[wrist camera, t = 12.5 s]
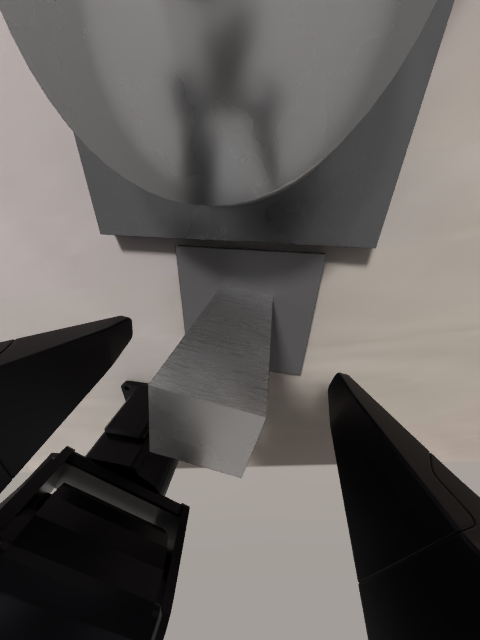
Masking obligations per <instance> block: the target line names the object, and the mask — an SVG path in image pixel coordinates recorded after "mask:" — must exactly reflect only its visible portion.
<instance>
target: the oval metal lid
mask: <svg viewBox="0 0 480 640" xmlns="http://www.w3.org/2000/svg"><path fill="white" fill-rule="evenodd" d="M436 1H437V0H0V10H1V12H2V14H3V17H4V19H5V21H6V23H7V26H8V28H9V30H10V32H11V35H12V37H13V38H14V40H15V42H16V44H17V46H18V48H19V50H20V52H21V54H22V55H23V57H24V59H25V61H26V63H27V65H28V67H29V69H30V70H31V72H32V74H33V75H34V77H35V78H36V80H37V82H38V83H39V85H40V86H41V88H42V90H43V91H44V93H45V94H46V96H47V98H48V99H49V101H50V102H51V103H52V105H53V106H54V107H55V109H56V110H57V111H58V113H59V114H60V115H61V117H62V118H63V119H64V121H65V122H66V123H67V125H68V126H69V127H70V128H71V129H72V130H73V132H74V133H75V134H76V135H77V136H78V137H79V138H80V139H81V141H82V142H83V143H84V144H85V145H86V146H87V147H88V148H89V149H90V150H91V151H92V152H93V153H94V154H95V155H96V156H98V157H99V158H100V159H101V160H102V161H103V162H104V163H105V164H106V165H107V166H109V167H110V168H111V169H113V170H114V171H116V172H117V173H118V174H120V175H121V176H122V177H124V178H125V179H127V180H128V181H130V182H132V183H133V184H135V185H137V186H139V187H141V188H142V189H144V190H146V191H148V192H151V193H153V194H156V195H158V196H161V197H163V198H166V199H169V200H173V201H177V202H181V203H186V204H194V205H206V206H223V207H231V206H244V205H248V204H253V203H257V202H261V201H263V200H266V199H269V198H271V197H274V196H276V195H278V194H280V193H282V192H283V191H285V190H287V189H289V188H291V187H292V186H294V185H295V184H296V183H298V182H299V181H301V180H302V179H303V178H305V177H306V176H308V175H309V174H310V173H311V172H312V171H313V170H314V169H315V168H316V167H317V166H318V165H320V164H321V163H322V162H323V161H324V160H325V159H326V158H327V157H328V156H329V155H330V153H331V152H332V151H333V150H334V149H335V148H336V147H337V146H338V145H339V144H340V143H341V142H342V141H343V140H344V139H345V138H346V137H347V135H348V134H349V133H350V132H351V131H352V130H353V129H354V127H355V126H356V125H357V124H358V123H359V122H360V121H361V120H362V118H363V117H364V116H365V115H366V114H367V113H368V112H369V110H370V109H371V108H372V106H373V105H374V104H375V102H376V101H377V99H378V98H379V97H380V95H381V94H382V93H383V91H384V90H385V88H386V87H387V86H388V84H389V83H390V82H391V80H392V79H393V78H394V76H395V75H396V73H397V71H398V70H399V68H400V66H401V65H402V63H403V61H404V60H405V58H406V56H407V55H408V53H409V51H410V50H411V48H412V46H413V45H414V43H415V42H416V40H417V38H418V37H419V35H420V33H421V31H422V29H423V27H424V25H425V23H426V21H427V19H428V17H429V15H430V13H431V11H432V9H433V7H434V5H435V3H436Z"/></svg>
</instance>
